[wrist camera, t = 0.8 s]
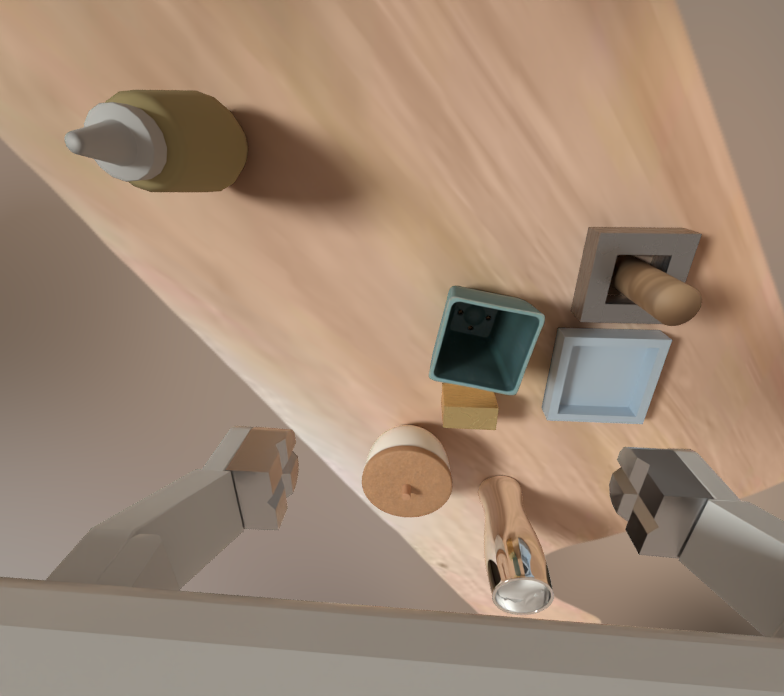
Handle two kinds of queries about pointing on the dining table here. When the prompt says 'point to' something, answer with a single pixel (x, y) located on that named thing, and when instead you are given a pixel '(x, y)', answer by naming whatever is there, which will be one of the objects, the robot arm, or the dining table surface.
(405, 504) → the lidded jar
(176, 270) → the dining table surface
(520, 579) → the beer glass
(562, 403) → the tray
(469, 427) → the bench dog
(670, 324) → the dowel
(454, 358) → the flower pot
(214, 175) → the squeeze bottle
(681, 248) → the socket block
